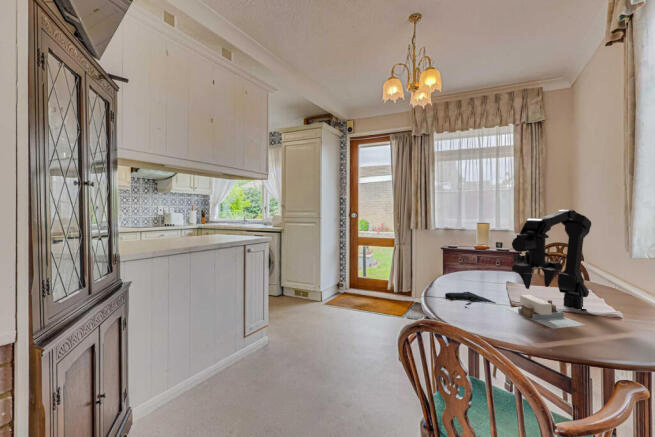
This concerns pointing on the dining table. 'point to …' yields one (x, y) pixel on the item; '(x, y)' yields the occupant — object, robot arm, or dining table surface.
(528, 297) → the long cream prism
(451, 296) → the gun
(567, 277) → the robot arm
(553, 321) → the jig board
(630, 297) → the dining table surface
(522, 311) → the brown box with tab
